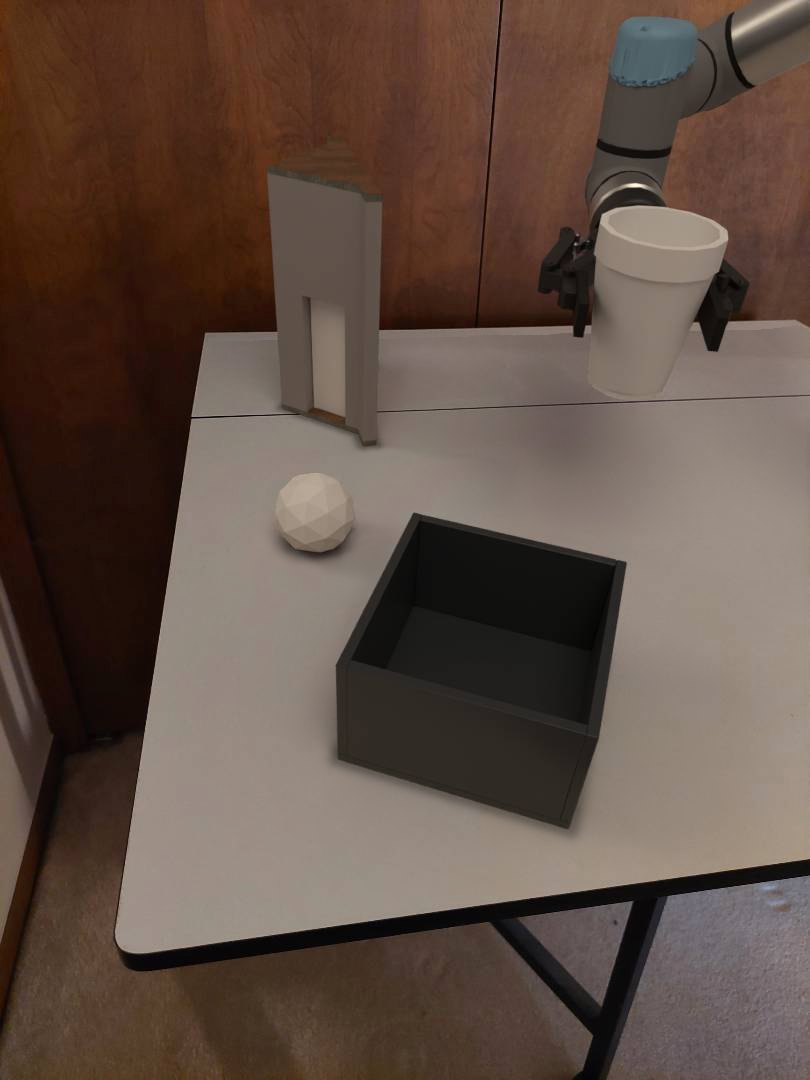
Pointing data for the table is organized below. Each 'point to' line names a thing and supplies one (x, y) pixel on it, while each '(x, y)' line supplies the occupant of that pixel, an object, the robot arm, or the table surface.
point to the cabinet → (327, 285)
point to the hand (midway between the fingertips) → (649, 327)
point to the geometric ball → (314, 512)
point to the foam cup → (648, 294)
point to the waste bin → (482, 667)
